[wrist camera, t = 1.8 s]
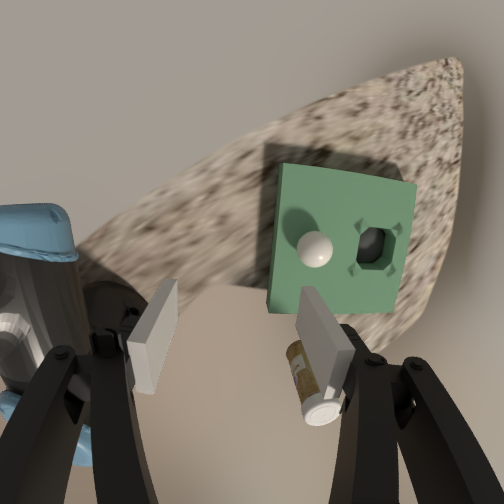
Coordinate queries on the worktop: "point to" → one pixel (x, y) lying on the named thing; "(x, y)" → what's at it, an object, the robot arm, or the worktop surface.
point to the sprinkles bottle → (310, 389)
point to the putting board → (340, 238)
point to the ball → (314, 249)
